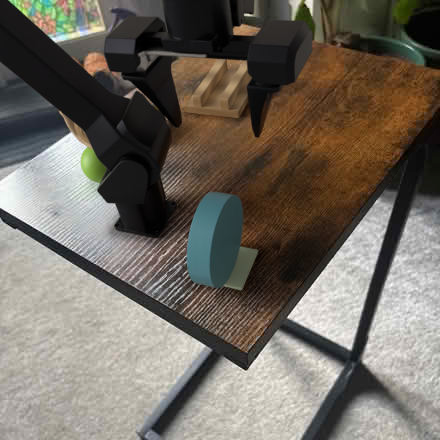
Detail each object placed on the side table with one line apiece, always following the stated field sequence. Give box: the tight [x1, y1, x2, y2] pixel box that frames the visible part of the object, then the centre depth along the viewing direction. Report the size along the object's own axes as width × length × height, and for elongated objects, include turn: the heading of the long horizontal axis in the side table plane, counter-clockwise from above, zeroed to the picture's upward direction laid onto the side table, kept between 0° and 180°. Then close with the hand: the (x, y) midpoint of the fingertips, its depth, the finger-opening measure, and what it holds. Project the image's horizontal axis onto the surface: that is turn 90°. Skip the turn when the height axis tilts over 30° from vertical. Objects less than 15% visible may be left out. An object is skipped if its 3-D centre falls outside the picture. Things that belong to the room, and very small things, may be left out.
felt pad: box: [223, 245, 259, 291], centre depth 54 cm, size 6×6×1 cm
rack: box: [185, 59, 252, 119], centre depth 75 cm, size 12×9×3 cm
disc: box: [186, 191, 244, 289], centre depth 49 cm, size 10×2×10 cm
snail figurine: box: [58, 110, 107, 184], centre depth 62 cm, size 5×6×12 cm
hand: (217, 130), depth 48 cm, fingers open, 9 cm apart
